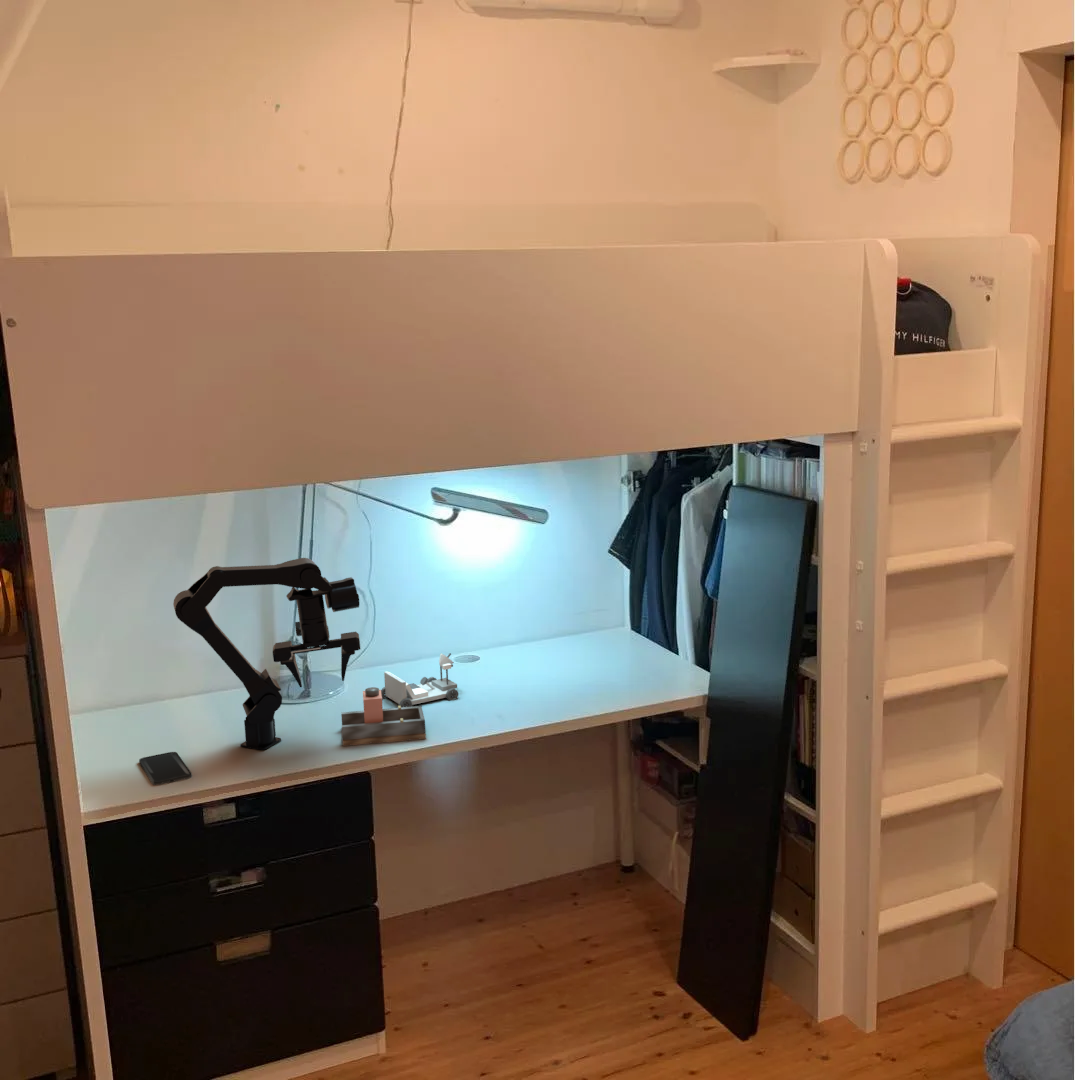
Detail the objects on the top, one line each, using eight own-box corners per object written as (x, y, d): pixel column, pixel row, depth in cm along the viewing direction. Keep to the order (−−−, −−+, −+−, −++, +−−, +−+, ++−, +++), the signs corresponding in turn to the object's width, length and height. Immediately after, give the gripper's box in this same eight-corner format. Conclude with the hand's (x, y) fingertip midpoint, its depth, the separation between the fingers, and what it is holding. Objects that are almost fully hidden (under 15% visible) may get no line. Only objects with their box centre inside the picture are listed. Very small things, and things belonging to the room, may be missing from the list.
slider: (365, 734, 253) (363, 694, 251) (364, 725, 259) (362, 685, 257) (383, 732, 254) (381, 693, 252) (382, 723, 260) (380, 684, 258)
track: (342, 745, 250) (341, 726, 249) (342, 728, 261) (341, 709, 260) (425, 738, 253) (425, 719, 252) (421, 721, 264) (421, 703, 263)
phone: (175, 750, 248) (192, 774, 235) (176, 755, 248) (192, 779, 235) (137, 758, 244) (152, 782, 231) (138, 763, 244) (153, 787, 231)
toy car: (444, 647, 288) (466, 658, 279) (446, 685, 290) (468, 697, 281) (378, 660, 279) (399, 672, 269) (380, 699, 281) (401, 712, 271)
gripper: (354, 600, 260) (363, 665, 264) (270, 612, 258) (280, 678, 261) (355, 613, 250) (364, 681, 253) (268, 626, 247) (278, 694, 250)
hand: (322, 683), depth 255 cm, fingers open, 9 cm apart
